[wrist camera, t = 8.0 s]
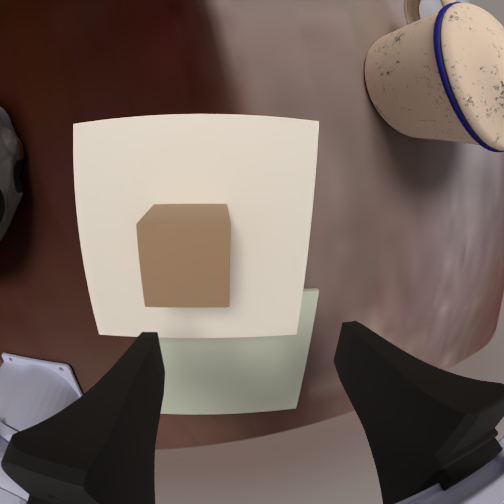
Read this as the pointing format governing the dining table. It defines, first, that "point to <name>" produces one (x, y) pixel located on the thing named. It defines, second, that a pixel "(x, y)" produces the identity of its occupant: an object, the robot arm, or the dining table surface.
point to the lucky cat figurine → (9, 171)
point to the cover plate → (197, 174)
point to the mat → (237, 370)
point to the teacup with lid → (442, 75)
